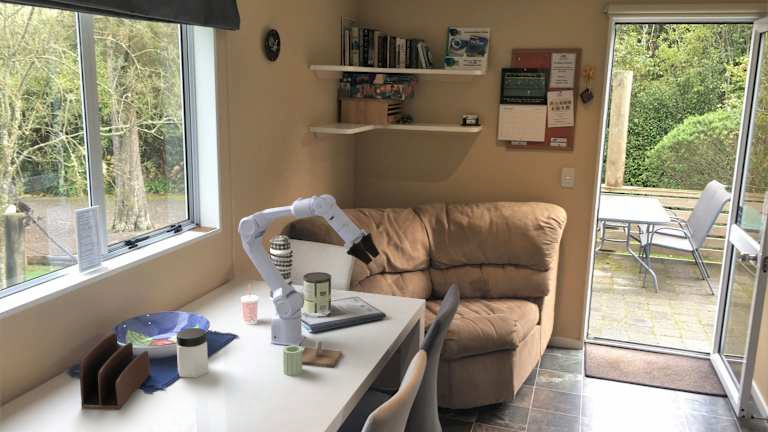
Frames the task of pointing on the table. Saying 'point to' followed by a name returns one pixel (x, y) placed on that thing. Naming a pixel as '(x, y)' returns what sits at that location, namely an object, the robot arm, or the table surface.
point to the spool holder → (320, 356)
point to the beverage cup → (250, 308)
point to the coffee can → (317, 292)
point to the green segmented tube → (292, 360)
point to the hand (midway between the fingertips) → (373, 259)
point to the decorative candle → (281, 257)
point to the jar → (192, 352)
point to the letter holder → (111, 374)
